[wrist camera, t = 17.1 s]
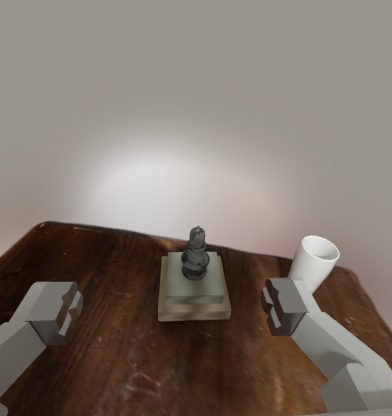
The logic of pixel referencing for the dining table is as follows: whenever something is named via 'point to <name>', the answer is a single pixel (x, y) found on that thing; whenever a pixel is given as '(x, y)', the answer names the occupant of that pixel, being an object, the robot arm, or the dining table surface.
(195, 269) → the dark grey ornamental finial
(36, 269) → the dining table surface
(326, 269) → the drinking glass
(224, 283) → the brick tower base
